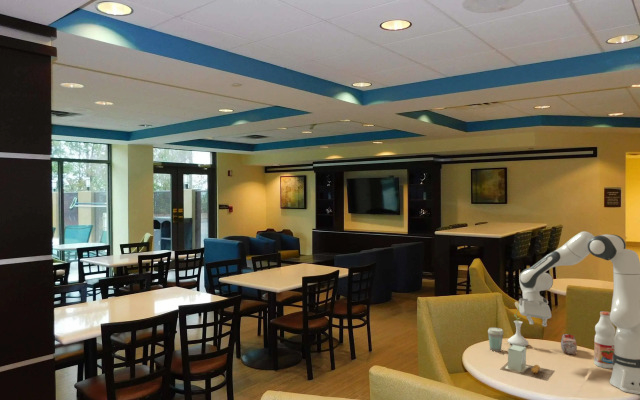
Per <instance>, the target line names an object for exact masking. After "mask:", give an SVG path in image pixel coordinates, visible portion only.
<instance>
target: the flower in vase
mask: <svg viewBox="0 0 640 400" xmlns="http://www.w3.org/2000/svg"><path fill="white" fill-rule="evenodd" d="M514 305H515V307H516V309H517V311H515V312H516V314H515V313H514V315H513V317H515V318H516V320H514V321H513V323H514V324H515V328H516V329H515V331H516V332H515V333H514V335H512V336H511V337H509V338H508V339H507V342H508V344H510V345H511V346H512V345H518V346H523V347H527V346H528V345H529V341H528V340H527V339H526V338H525V337H524V336H523V335H522V334H521V327H522V324H523V323H524V321H521V320H519V319H521V318H522V316H521V317H518V316H517V314H518V311H519V312H520V310H519V301H515V302H514Z"/></svg>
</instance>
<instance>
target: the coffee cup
mask: <svg viewBox="0 0 640 400" xmlns="http://www.w3.org/2000/svg"><path fill="white" fill-rule="evenodd" d="M504 333H505V332H504V329H502V328H499V327H488V330H487V334H488V342H489V343H488V344H489V350H490V351H491V350H492V352H494V351H495V353H499V352H501V351H502V345H503V337H504Z"/></svg>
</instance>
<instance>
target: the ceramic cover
mask: <svg viewBox="0 0 640 400" xmlns="http://www.w3.org/2000/svg"><path fill="white" fill-rule="evenodd" d="M507 350H508V351H507V362H508V369H513V370H517V371H522V370H523V369H524V368H525V367H526V364H527V346H518V345H512V344H511V345H510V346H509V347H508V348H507Z"/></svg>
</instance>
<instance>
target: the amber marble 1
mask: <svg viewBox="0 0 640 400" xmlns="http://www.w3.org/2000/svg"><path fill="white" fill-rule="evenodd" d="M531 370H532V372H533V373H538V369H537V368H536V367H533V368H532V369H531Z"/></svg>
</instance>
